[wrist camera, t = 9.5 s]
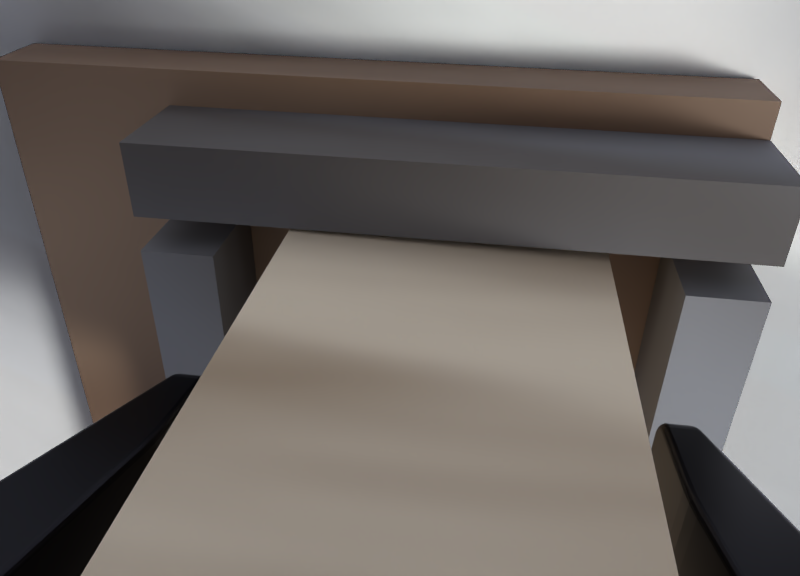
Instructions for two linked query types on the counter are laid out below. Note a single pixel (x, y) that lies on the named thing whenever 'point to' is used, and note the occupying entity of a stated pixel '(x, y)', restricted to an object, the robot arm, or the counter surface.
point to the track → (396, 195)
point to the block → (407, 425)
